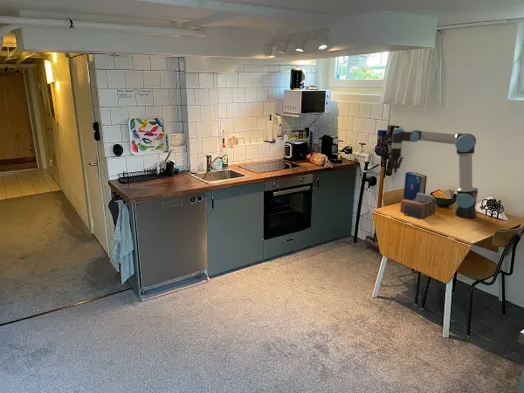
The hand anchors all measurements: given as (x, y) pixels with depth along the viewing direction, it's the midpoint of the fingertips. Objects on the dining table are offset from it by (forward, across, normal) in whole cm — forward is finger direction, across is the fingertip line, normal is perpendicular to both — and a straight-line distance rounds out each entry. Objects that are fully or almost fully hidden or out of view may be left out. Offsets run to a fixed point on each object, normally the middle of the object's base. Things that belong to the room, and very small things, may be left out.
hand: (393, 176), depth 324 cm
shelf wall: (+26, +32, 0) cm, 42 cm away
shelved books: (+26, +25, +8) cm, 37 cm away
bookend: (+26, +23, -8) cm, 36 cm away
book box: (+27, +20, 0) cm, 34 cm away
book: (+27, +4, +31) cm, 41 cm away
